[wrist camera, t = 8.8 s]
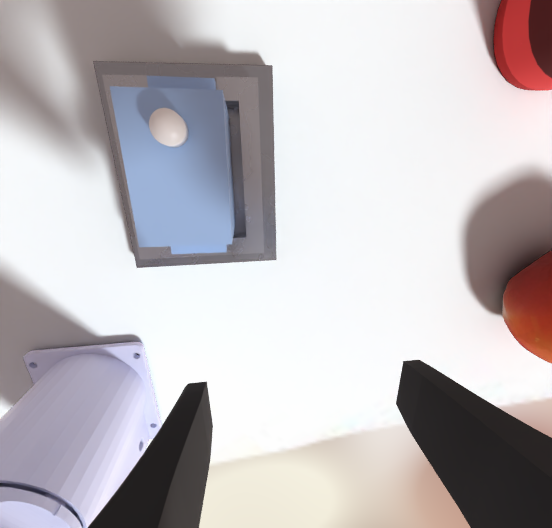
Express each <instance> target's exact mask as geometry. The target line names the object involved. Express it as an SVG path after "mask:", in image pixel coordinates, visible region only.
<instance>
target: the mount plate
mask: <svg viewBox="0 0 552 528" xmlns="http://www.w3.org/2000/svg"><path fill="white" fill-rule="evenodd" d="M93 62H94V67H95V72H96V76H97V81H98V86H99V91H100V95H101V100H102V105H103V109H104V114H105V119H106V124H107V128H108V133H109V138H110V143H111V147H112V152H113V157H114V161H115V166H116V171H117V176H118V180H119V185H120V190H121V195H122V199H123V204H124V209H125V214H126V218H127V223H128V228H129V232H130V237H131V242H132V247H133V251H134V256H135V261H136V266H137V268H142V267H159V266H177V265H195V264H212V263H230V262H247V261H265V260H276V222H275V173H274V124H273V75H272V65H230V64H187V63H145V62H102V61H93ZM147 76H171V77H197V78H215V82H216V90H223V93H224V98H225V102H226V106H227V110H228V114H229V120H230V138H231V157H232V175H233V193H234V212H235V229H234V235H233V241H232V244H228V245H227V252H220V253H192V254H172V253H171V246H166V247H139V244H138V239H137V233H136V228H135V222H134V217H133V211H132V206H131V200H130V195H129V189H128V184H127V178H126V173H125V168H124V162H123V157H122V151H121V146H120V140H119V135H118V129H117V124H116V118H115V113H114V108H113V102H112V97H111V91H110V86H118V87H148V83H147Z"/></svg>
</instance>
